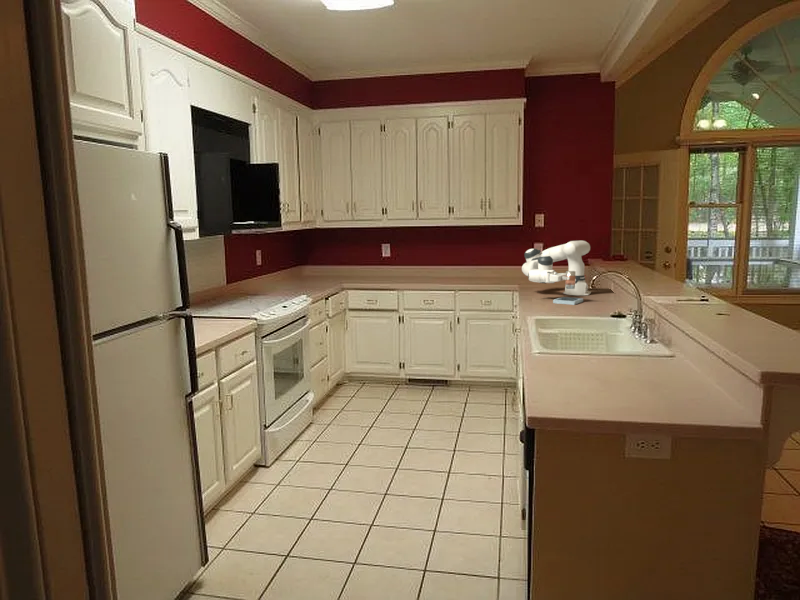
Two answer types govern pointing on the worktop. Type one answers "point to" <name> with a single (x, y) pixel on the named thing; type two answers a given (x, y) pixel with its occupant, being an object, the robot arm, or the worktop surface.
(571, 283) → the clear glass cup
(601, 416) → the worktop surface
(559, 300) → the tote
